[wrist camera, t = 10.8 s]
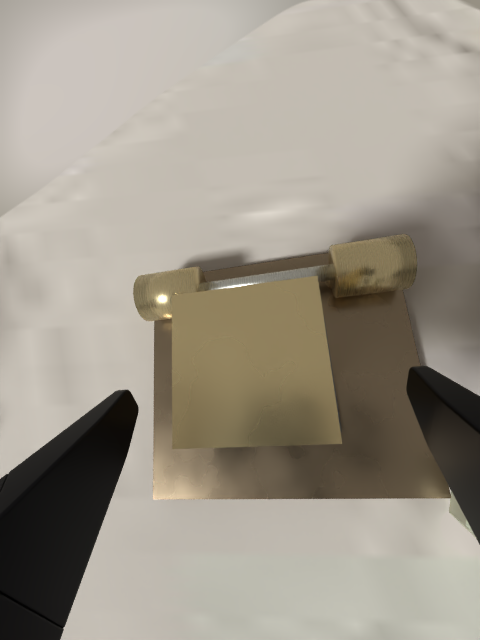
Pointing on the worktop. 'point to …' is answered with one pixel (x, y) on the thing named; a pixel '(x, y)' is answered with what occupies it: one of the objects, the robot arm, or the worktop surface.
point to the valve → (459, 513)
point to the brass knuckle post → (252, 367)
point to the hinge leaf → (348, 378)
